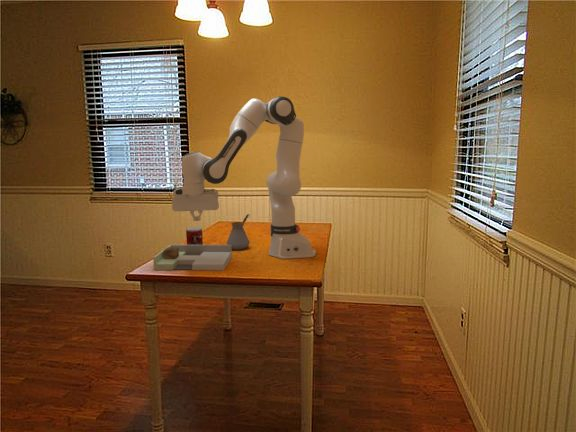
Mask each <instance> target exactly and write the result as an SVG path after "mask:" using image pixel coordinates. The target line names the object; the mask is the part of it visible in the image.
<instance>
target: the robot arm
mask: <svg viewBox="0 0 576 432" xmlns="http://www.w3.org/2000/svg"><path fill="white" fill-rule="evenodd" d="M264 122H266V123H269V124H272V125H278V127H279V138H278V142H277V148H276V153H275V159H276V170H275V171H273V172H271V173H270V174H269V175H268V176H267V178H266V186H267V188H268V189H267V190H268V197H269V201H270V202H269V203H270V208H271V209H270V210H271V214H270V215H271V224H270V230H269V231H270V236H271V238H270V245H269V251H268V255H269V256H271V257H274V258H275V257H276V258H279V259H281V260H283V259H284V260H286V259H287V260H288V259H303V258H304V259H306V258H314V257H316V255H317V254H316V249H314V248H313V247H312V245H311V241H310V239H309V238H307V236H305V235H304V234H302V233H301V227H300V225H299V224H296V208H295V204H294V202H293V196H296V195H297V194H299V193H300V191H301V189H302V182H301V179H300V160H301V155H302V150H303V141H304V135H305V134H304V133H305V132H304V131H305V124H304V121H303V120H302V119H300V118H299V117H297V113H296V111H295V107H294V104H293V102H292V100H291V99H290V98H288V97H286V96H283V95H282V96H276V97H274V98H272V99H270V100H269V101H268V102H264V101H263V100H261V99H259V98H251V99H250V100H248V101H247V102H246V103H245V104H244V105H243V106H242V107H241V108H240V110H238V112H237V114H236V115H235V117H234V118H233V120H232V122H231V123H230V126H229V135H228V138H227V140H226V142H225V144H224V145H223V146H222V148H221V150H220V151H219V153H217V155H216V156H215V157H214V158H212V157H209V156H207V155H205V154H203V153H201V152H200V151H193V152H189V153H186V154H184V155H183V157H182V159H181V171H182V173H181V174H182V177H183V186H181V187H179V188H175V189H174V190H172V193H173V194H172V195H173V196H172V199H171V200H172V201H171V209H172V211H173V212H175V213H176V212H189V214H190V216H191V217H192V220H193V222H197V221H201V220H202V218H201V216H202V214H203V211H217V210H218V209H219V208H220V203H219V191H218V190H217V189H215V188H205V180H206V181H207V182H208V183H209V184H212V185H217V184H221V183H224V181H225V180H226V179H227V177H228V174H229V169H230V166H231V163H232V162H233V160H234V159H235V157H236V156H237V154H238V153H239V151H240V150H241V149H242V147H243V146H244V145H246V143H248V141H249V140H250V139H252V137H253V136H254V134H256V132H257V131H258V130H259V128H260V127H261V125H262V124H263V123H264ZM195 212H198V215H195Z"/></svg>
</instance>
